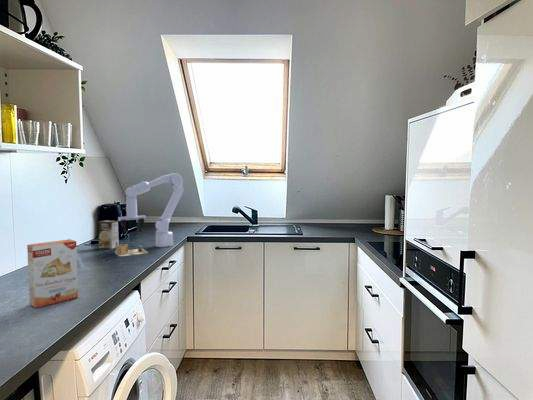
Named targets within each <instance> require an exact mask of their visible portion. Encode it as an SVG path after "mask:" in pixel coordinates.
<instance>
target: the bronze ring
mask: <svg viewBox="0 0 533 400" xmlns="http://www.w3.org/2000/svg"><path fill="white" fill-rule="evenodd" d="M115 248H116V250H115V252H116V251H117V254H127V253H129V250H130V249H129V244H126V243H125V244H119V245H117V246H116V247H115Z"/></svg>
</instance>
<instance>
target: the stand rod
mask: <svg viewBox="0 0 533 400" xmlns="http://www.w3.org/2000/svg"><path fill="white" fill-rule="evenodd" d="M142 248H143V245H138V246H137V249H138V252H141V251H142Z"/></svg>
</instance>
